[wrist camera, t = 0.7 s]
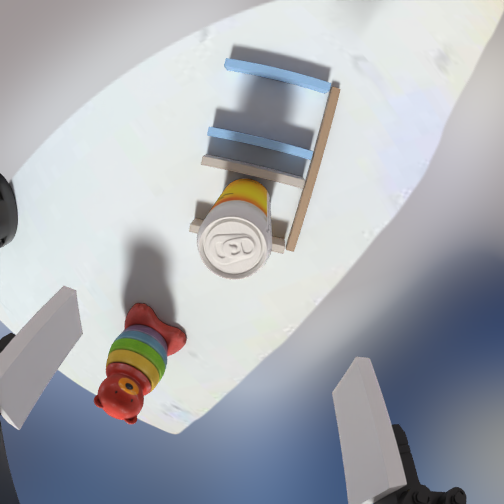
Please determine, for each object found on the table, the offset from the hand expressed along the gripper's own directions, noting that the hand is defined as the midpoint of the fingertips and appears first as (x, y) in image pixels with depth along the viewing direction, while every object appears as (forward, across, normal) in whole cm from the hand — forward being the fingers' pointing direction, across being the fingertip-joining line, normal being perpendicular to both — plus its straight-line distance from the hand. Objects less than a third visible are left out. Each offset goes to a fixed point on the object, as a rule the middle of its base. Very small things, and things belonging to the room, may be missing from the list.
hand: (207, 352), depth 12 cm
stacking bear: (+26, -11, -26) cm, 39 cm away
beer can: (+26, 0, 0) cm, 26 cm away
